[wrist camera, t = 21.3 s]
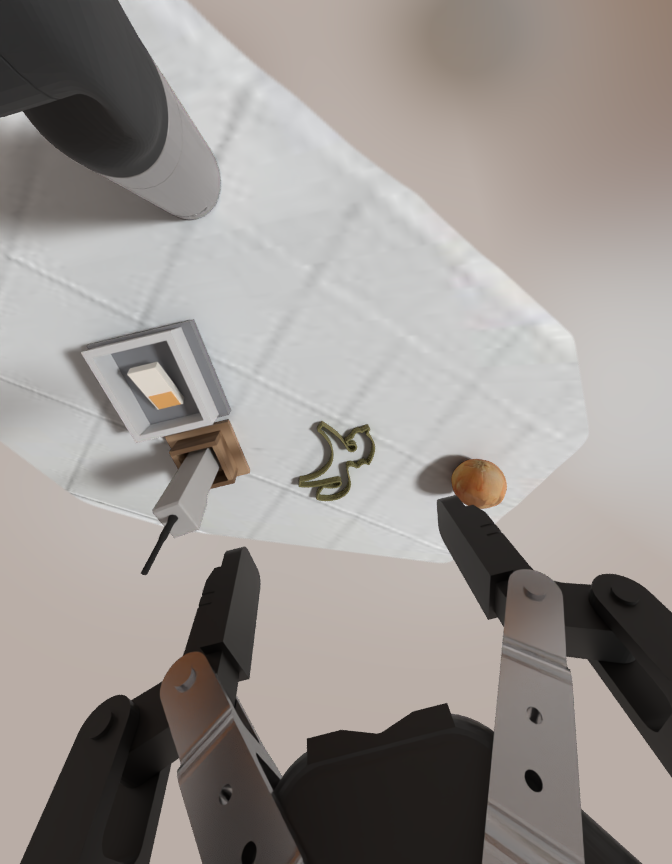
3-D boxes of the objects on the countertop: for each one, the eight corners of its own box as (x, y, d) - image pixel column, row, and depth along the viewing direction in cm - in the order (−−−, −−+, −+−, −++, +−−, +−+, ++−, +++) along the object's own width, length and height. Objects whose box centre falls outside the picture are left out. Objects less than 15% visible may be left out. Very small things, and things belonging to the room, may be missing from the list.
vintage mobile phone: (207, 468, 54) (145, 597, 32) (192, 446, 52) (114, 568, 30) (226, 462, 54) (177, 586, 32) (212, 439, 52) (148, 556, 30)
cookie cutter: (322, 410, 53) (323, 414, 52) (382, 428, 56) (384, 432, 55) (293, 488, 60) (293, 494, 59) (348, 500, 63) (349, 507, 62)
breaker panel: (94, 343, 44) (67, 351, 39) (193, 319, 44) (179, 324, 39) (145, 430, 51) (127, 448, 45) (231, 410, 51) (223, 424, 46)
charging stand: (166, 434, 51) (154, 448, 47) (228, 419, 52) (222, 432, 47) (194, 483, 57) (185, 501, 52) (250, 470, 57) (246, 486, 52)
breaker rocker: (129, 368, 42) (126, 374, 41) (157, 361, 42) (155, 368, 41) (159, 403, 47) (157, 410, 46) (184, 397, 47) (182, 404, 46)
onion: (484, 442, 60) (517, 469, 51) (490, 478, 65) (521, 509, 56) (439, 459, 61) (463, 489, 52) (448, 494, 65) (472, 527, 57)
